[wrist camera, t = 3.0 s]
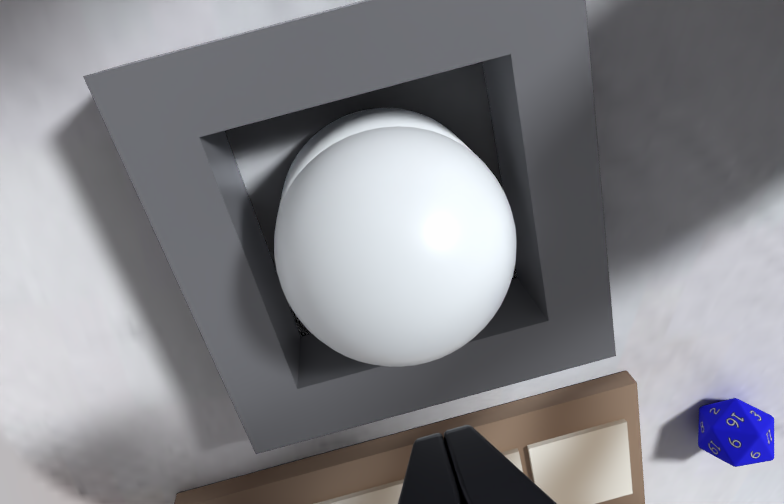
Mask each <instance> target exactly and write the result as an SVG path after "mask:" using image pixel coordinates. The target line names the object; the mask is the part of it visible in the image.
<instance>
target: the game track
mask: <svg viewBox="0 0 784 504" xmlns="http://www.w3.org/2000/svg"><path fill="white" fill-rule="evenodd" d="M464 425H470V426H472V427H473V428H474V429H476V430H477V431H478V432H479V433H480V434H481V435H482V436H483V437H484V438H485V439H487V440H488V441H489V442H490V443H491V444H492V445H493V446H494V447H495V448H496V449H498V450H499V451H500V452H501V453H502V454H503V455H504V456H505V457H506V458H507V459H509V460H510V461H511V462H512V463H513V464H514V465H515V466H516V467H517V468H518V469H520V470H521V471H522V472H523V473H524V474H525V475H526V476H527V477H528V478H529V479H531V480H532V481H533V482H534V483H535V484H536V485H537V486H538V487H539V488H540V489H541V490H543V491H544V492H545V493H546V494H547V495H548V496H549V497H550V498H551V499H552V500H554V501H555V502H556V503H557V504H645V496H644V481H643V466H642V451H641V436H640V422H639V407H638V392H637V382H636V381H635V380H634V379H633V378H632V376H631V375H630V374H629V373H628V372H627V371H623V372H619V373H616V374H612V375H609V376H605V377H601V378H598V379H594V380H590V381H587V382H583V383H579V384H576V385H572V386H568V387H565V388H561V389H557V390H554V391H550V392H546V393H543V394H539V395H535V396H532V397H528V398H524V399H521V400H517V401H514V402H510V403H506V404H503V405H499V406H495V407H492V408H488V409H484V410H481V411H477V412H473V413H470V414H466V415H462V416H459V417H455V418H451V419H448V420H444V421H440V422H437V423H433V424H429V425H426V426H422V427H418V428H415V429H411V430H408V431H404V432H400V433H397V434H393V435H389V436H386V437H382V438H378V439H375V440H371V441H367V442H364V443H360V444H356V445H353V446H349V447H345V448H342V449H338V450H334V451H331V452H327V453H323V454H320V455H316V456H313V457H309V458H305V459H302V460H298V461H294V462H291V463H287V464H283V465H280V466H276V467H272V468H269V469H265V470H261V471H258V472H254V473H250V474H247V475H243V476H239V477H236V478H232V479H228V480H225V481H221V482H218V483H214V484H210V485H207V486H203V487H199V488H196V489H192V490H188V491H185V492H181V493H177V496H176V499H175V502H174V504H398V501H399V497H400V493H401V490H402V486H403V482H404V478H405V474H406V470H407V467H408V463H409V459H410V455H411V451H412V447H413V444H414V442H415V440H416V439H418V438H421V437H424V436H428V435H431V434H435V433H441V434H442V435H443V437H444V432H445V431H446V430H449V429H453V428H457V427H460V426H464Z"/></svg>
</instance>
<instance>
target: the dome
mask: <svg viewBox="0 0 784 504" xmlns="http://www.w3.org/2000/svg"><path fill="white" fill-rule="evenodd" d="M516 242H517V241H516V229H515V223H514V219H513V215H512V211H511V208H510V205H509V202H508V200H507V197H506V195H505V192H504V191H503V189H502V187H501V185H500V184H499V182H498V180H497V179H496V177H495V176H494V175H493V173H492V172H491V171H490V170H489V168H488V167H487V166H486V164H485V163H484V162H483V161H482V160H481V159H480V158H479V157H478V156H477V155H475V154H474V153H473V152H472V151H471V150H470V149H469V148H468V147H467V146H466V145H465V144H464V143H463V142H462V141H461V140H460V139H459V138H458V137H457V136H456V135H454V134H453V133H452V132H451V131H450V130H449V129H447V128H446V127H445V126H443V125H442V124H441V123H439V122H437V121H435V120H433V119H431V118H429V117H428V116H425V115H422V114H419V113H417V112H414V111H409V110H404V109H397V108H374V109H368V110H362V111H358V112H355V113H352V114H349V115H346V116H343V117H341V118H339V119H337V120H335V121H333V122H331V123H330V124H328V125H327V126H325V127H324V128H323V129H321V130H320V131H319V132H317V133H316V134H315V135H314V136H313V137H312V138H311V139H310V140H309V141H308V142H307V143H306V144H305V145H304V147H303V148H302V149H301V150H300V151H299V153H298V155H297V156H296V158H295V159H294V161H293V163H292V165H291V167H290V169H289V171H288V173H287V176H286V180H285V183H284V186H283V191H282V196H281V201H280V206H279V211H278V215H277V221H276V227H275V235H274V257H275V264H276V270H277V274H278V277H279V281H280V284H281V287H282V290H283V292H284V295H285V297H286V299H287V301H288V303H289V305H290V306H291V308H292V310H293V311H294V313H295V314H296V316H297V317H298V318H299V320H300V321H301V322H302V323H303V324H304V326H305V327H306V328H307V329H308V330H309V331H310V332H311V333H312V334H313V335H314V336H315V337H316V338H317V339H319V340H320V341H321V342H323V343H324V344H326V345H327V346H329V347H330V348H332V349H333V350H335V351H336V352H338V353H340V354H342V355H344V356H346V357H349V358H351V359H354V360H357V361H360V362H364V363H368V364H372V365H380V366H389V367H403V366H413V365H418V364H423V363H428V362H431V361H434V360H437V359H440V358H442V357H444V356H446V355H448V354H451V353H452V352H454V351H456V350H457V349H459V348H461V347H462V346H464V345H465V344H466V343H468V342H469V341H470V340H472V339H473V338H474V337H475V336H476V335H477V334H478V333H479V332H480V331H481V330H483V329H484V328H485V327H486V325H487V324H488V323H489V322H490V320H491V319H492V318H493V317H494V315H495V314H496V312H497V311H498V309H499V308H500V306H501V304H502V302H503V300H504V298H505V296H506V294H507V291H508V289H509V286H510V283H511V280H512V277H513V273H514V267H515V262H516Z"/></svg>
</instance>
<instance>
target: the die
mask: <svg viewBox="0 0 784 504" xmlns="http://www.w3.org/2000/svg"><path fill="white" fill-rule="evenodd" d="M698 446H699V447H700V448H701V449H703V450H705V451H706V452H708V453H710V454H712V455H714V456H716V457H717V458H719V459H721V460H723V461H725V462H727V463H728V464H730V465H732V466H735V467H737V466H743V465H748V464H754V463H759V462H765V461H771V460H773V459H774V418H773V417H772V416H771V415H769V414H767V413H765V412H763V411H761V410H759V409H757V408H755V407H753V406H751V405H749V404H747V403H745V402H743V401H741V400H739V399H736V398H733V399H729V400H725V401H721V402H717V403H713V404H709V405H704V406H702V407H700V408H699V433H698Z"/></svg>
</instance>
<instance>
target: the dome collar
mask: <svg viewBox="0 0 784 504" xmlns="http://www.w3.org/2000/svg"><path fill="white" fill-rule="evenodd" d="M479 62H482V64H483V70H484V76H485V82H486V88H487V94H488V100H489V106H490V113H491V119H492V125H493V131H494V137H495V143H496V149H497V155H498V161H499V168H500V174H501V180H502V186H503V191H504V192H505V195H506V197H507V200H508V202H509V205H510V208H511V211H512V215H513V219H514V223H515V229H516V241H517V242H516V262H515V265H516V271H517V278H515V279H512V280H511V283H510V286H509V289H508V291H507V294H506V296H505V298H504V300H503V302H502V304H501V306H500V308H499V309H498V311H497V312H496V314H495V315H494V317H493V318H492V319H491V320H490V322H489V323H488V324H487V325H486V327H485V328H484V329H483V330H481V331H480V332H479V333H478V334H477V335H476V336H475V337H474V338H473V339H472V340H470V341H469V342H468V343H466V344H465V345H464V346H462V347H461V348H459V349H457V350H456V351H454V352H452V353H451V354H448V355H446V356H444V357H442V358H440V359H437V360H434V361H431V362H428V363H423V364H418V365H413V366H403V367H389V366H380V365H372V364H368V363H364V362H360V361H357V360H354V359H351V358H349V357H346V356H344V355H342V354H340V353H338V352H336V351H335V350H333V349H332V348H330V347H329V346H327V345H326V344H324V343H323V342H321V341H320V340H319V339H317V338H316V337H315V336H314V335H313V334H309V335H305V336H301V337H300V334H299V332H298V329H297V326H296V323H295V321H294V318H293V315H292V313H291V310H290V307H289V304H288V302H287V299H286V297H285V295H284V292H283V290H282V287H281V284H280V281H279V277H278V275H277V272H276V269H275V266H274V264H273V261H272V258H271V256H270V253H269V250H268V247H267V245H266V242H265V239H264V237H263V234H262V231H261V228H260V226H259V223H258V220H257V218H256V215H255V212H254V209H253V207H252V204H251V201H250V199H249V196H248V193H247V190H246V188H245V185H244V182H243V180H242V177H241V174H240V171H239V169H238V166H237V163H236V161H235V158H234V155H233V152H232V150H231V147H230V144H229V142H228V139H227V136H226V133H225V130H228V129H232V128H236V127H240V126H243V125H247V124H251V123H255V122H258V121H262V120H266V119H270V118H273V117H277V116H281V115H284V114H288V113H292V112H296V111H299V110H303V109H307V108H311V107H314V106H318V105H322V104H326V103H329V102H333V101H337V100H341V99H344V98H348V97H352V96H356V95H359V94H363V93H367V92H371V91H374V90H378V89H382V88H385V87H389V86H393V85H397V84H400V83H404V82H408V81H412V80H415V79H419V78H423V77H427V76H430V75H434V74H438V73H442V72H445V71H449V70H453V69H457V68H460V67H464V66H468V65H472V64H475V63H479ZM83 77H84V79H85V81H86V83H87V86H88V88H89V90H90V92H91V94H92V97H93V99H94V101H95V103H96V105H97V108H98V110H99V112H100V114H101V116H102V118H103V121H104V123H105V125H106V127H107V129H108V132H109V134H110V136H111V138H112V140H113V143H114V145H115V147H116V149H117V151H118V153H119V156H120V158H121V160H122V162H123V164H124V167H125V169H126V171H127V173H128V175H129V178H130V180H131V182H132V184H133V186H134V188H135V191H136V193H137V195H138V197H139V199H140V202H141V204H142V206H143V208H144V210H145V213H146V215H147V217H148V219H149V221H150V223H151V226H152V228H153V230H154V232H155V234H156V237H157V239H158V241H159V243H160V245H161V248H162V250H163V252H164V254H165V256H166V258H167V261H168V263H169V265H170V267H171V269H172V272H173V274H174V276H175V278H176V280H177V283H178V285H179V287H180V289H181V291H182V293H183V296H184V298H185V300H186V302H187V304H188V307H189V309H190V311H191V313H192V315H193V318H194V320H195V322H196V324H197V326H198V328H199V331H200V333H201V335H202V337H203V339H204V342H205V344H206V346H207V348H208V350H209V353H210V355H211V357H212V359H213V361H214V363H215V366H216V368H217V370H218V372H219V374H220V377H221V379H222V381H223V383H224V385H225V388H226V390H227V392H228V394H229V396H230V398H231V401H232V403H233V405H234V407H235V409H236V412H237V414H238V416H239V418H240V420H241V423H242V425H243V427H244V429H245V431H246V433H247V436H248V438H249V440H250V442H251V444H252V447H253V449H254V451H255V453H256V454H258V453H262V452H266V451H269V450H273V449H277V448H280V447H284V446H288V445H291V444H295V443H299V442H302V441H306V440H310V439H313V438H317V437H321V436H324V435H328V434H331V433H335V432H339V431H342V430H346V429H350V428H353V427H357V426H361V425H364V424H368V423H372V422H375V421H379V420H383V419H386V418H390V417H394V416H397V415H401V414H405V413H408V412H412V411H416V410H419V409H423V408H427V407H430V406H434V405H438V404H441V403H445V402H449V401H452V400H456V399H460V398H463V397H467V396H471V395H474V394H478V393H481V392H485V391H489V390H492V389H496V388H500V387H503V386H507V385H511V384H514V383H518V382H522V381H525V380H529V379H533V378H536V377H540V376H544V375H547V374H551V373H555V372H558V371H562V370H566V369H569V368H573V367H577V366H580V365H584V364H588V363H591V362H595V361H599V360H602V359H606V358H610V357H613V356H616V353H615V341H614V330H613V318H612V306H611V295H610V283H609V271H608V259H607V248H606V236H605V224H604V212H603V201H602V189H601V177H600V165H599V154H598V142H597V130H596V119H595V107H594V95H593V83H592V72H591V60H590V48H589V36H588V25H587V13H586V1H585V0H365V1H361V2H357V3H354V4H350V5H346V6H342V7H338V8H335V9H331V10H327V11H323V12H320V13H316V14H312V15H308V16H305V17H301V18H297V19H293V20H290V21H286V22H282V23H278V24H274V25H271V26H267V27H263V28H259V29H256V30H252V31H248V32H244V33H241V34H237V35H233V36H229V37H225V38H222V39H218V40H214V41H210V42H207V43H203V44H199V45H195V46H192V47H188V48H184V49H180V50H177V51H173V52H169V53H165V54H161V55H158V56H154V57H150V58H146V59H143V60H139V61H135V62H131V63H128V64H124V65H120V66H117V67H114V68H110V69H107V70H104V71H100V72H97V73H94V74H90V75H87V76H83Z"/></svg>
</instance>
